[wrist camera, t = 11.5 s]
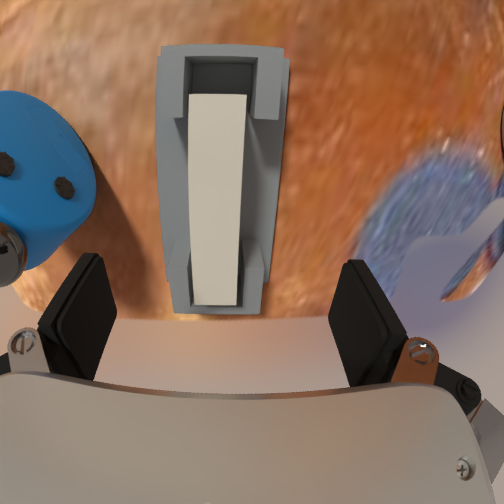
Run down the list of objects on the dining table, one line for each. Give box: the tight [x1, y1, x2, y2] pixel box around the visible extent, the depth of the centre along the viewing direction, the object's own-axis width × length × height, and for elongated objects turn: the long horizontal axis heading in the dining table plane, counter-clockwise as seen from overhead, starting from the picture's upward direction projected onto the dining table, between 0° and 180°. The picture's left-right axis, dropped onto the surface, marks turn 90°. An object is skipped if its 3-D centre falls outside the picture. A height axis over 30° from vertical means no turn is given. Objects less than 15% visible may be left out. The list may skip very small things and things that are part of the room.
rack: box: [156, 44, 290, 314], centre depth 21 cm, size 10×21×6 cm, turn 177°
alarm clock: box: [0, 91, 96, 287], centre depth 14 cm, size 13×6×15 cm, turn 32°
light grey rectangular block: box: [188, 94, 247, 305], centre depth 20 cm, size 3×14×7 cm, turn 176°
